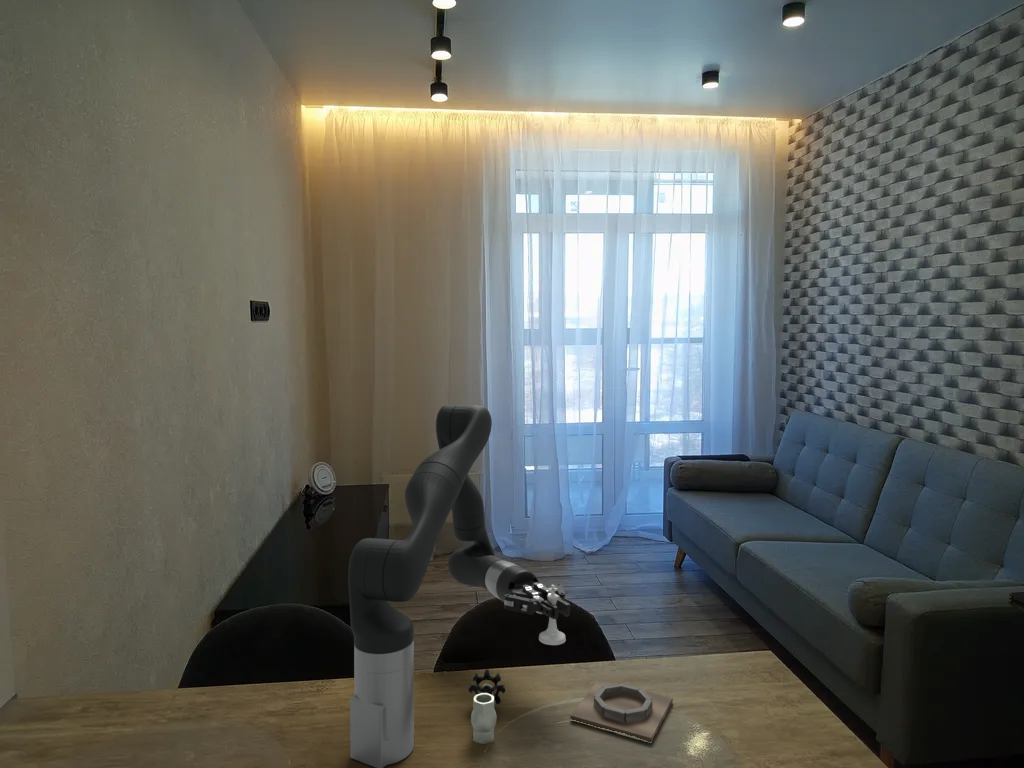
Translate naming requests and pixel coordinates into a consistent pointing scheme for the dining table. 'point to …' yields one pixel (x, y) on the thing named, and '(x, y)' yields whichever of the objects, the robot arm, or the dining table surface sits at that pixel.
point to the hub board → (623, 709)
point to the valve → (485, 707)
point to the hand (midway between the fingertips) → (562, 612)
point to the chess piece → (552, 625)
